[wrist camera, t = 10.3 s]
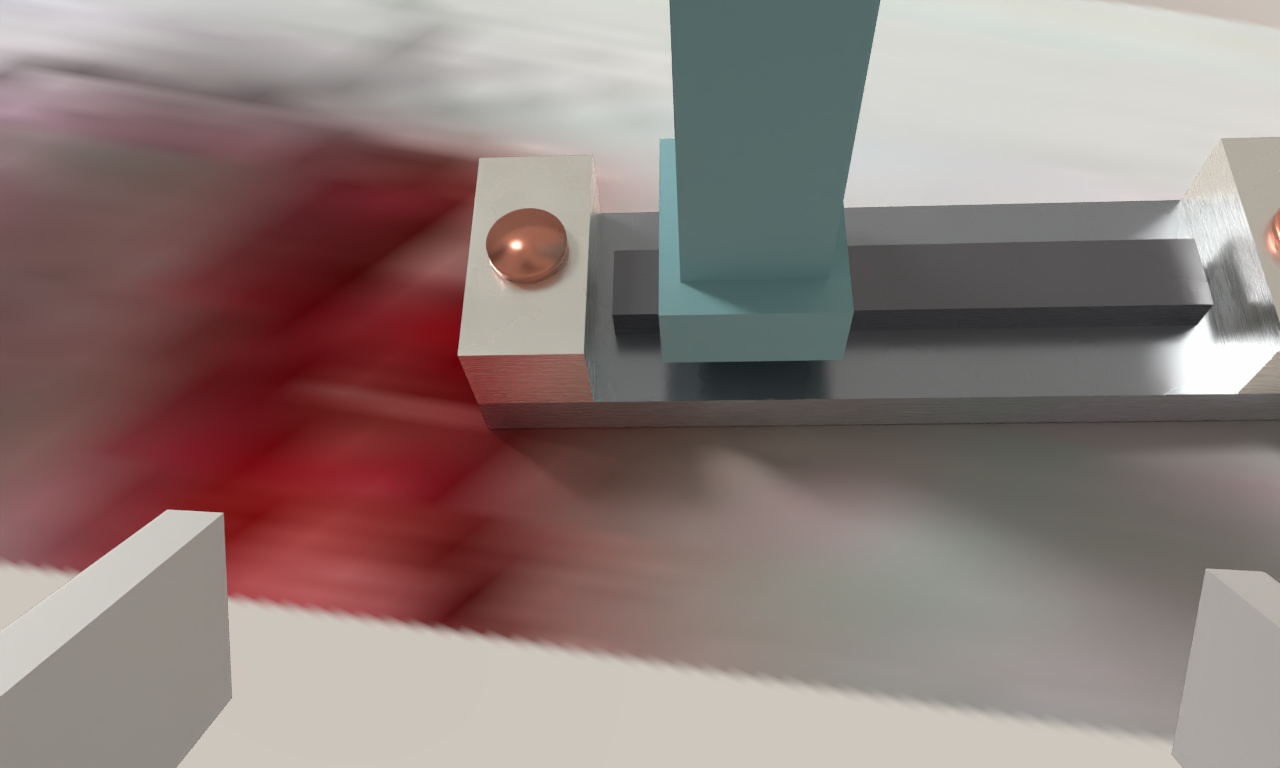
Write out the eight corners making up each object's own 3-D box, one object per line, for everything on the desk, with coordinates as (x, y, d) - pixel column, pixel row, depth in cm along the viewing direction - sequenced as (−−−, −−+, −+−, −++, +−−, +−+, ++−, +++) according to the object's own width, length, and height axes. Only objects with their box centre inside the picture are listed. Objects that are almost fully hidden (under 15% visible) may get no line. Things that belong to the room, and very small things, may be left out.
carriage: (662, 362, 26) (625, -116, 14) (662, 194, 28) (633, -332, 17) (842, 360, 25) (957, -129, 14) (827, 190, 28) (914, -347, 16)
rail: (488, 429, 28) (454, 347, 24) (505, 246, 31) (476, 147, 27) (1330, 418, 27) (1435, 331, 23) (1268, 230, 30) (1352, 124, 26)
